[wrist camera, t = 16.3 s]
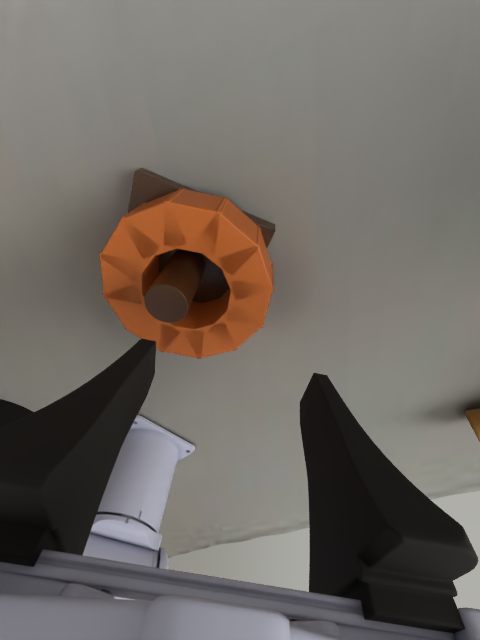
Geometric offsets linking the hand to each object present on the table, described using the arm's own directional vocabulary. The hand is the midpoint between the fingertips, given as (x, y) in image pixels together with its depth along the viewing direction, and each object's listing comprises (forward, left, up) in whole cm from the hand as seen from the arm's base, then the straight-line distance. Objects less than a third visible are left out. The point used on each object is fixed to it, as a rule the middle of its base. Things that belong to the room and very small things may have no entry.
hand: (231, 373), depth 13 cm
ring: (-1, +3, -9) cm, 10 cm away
